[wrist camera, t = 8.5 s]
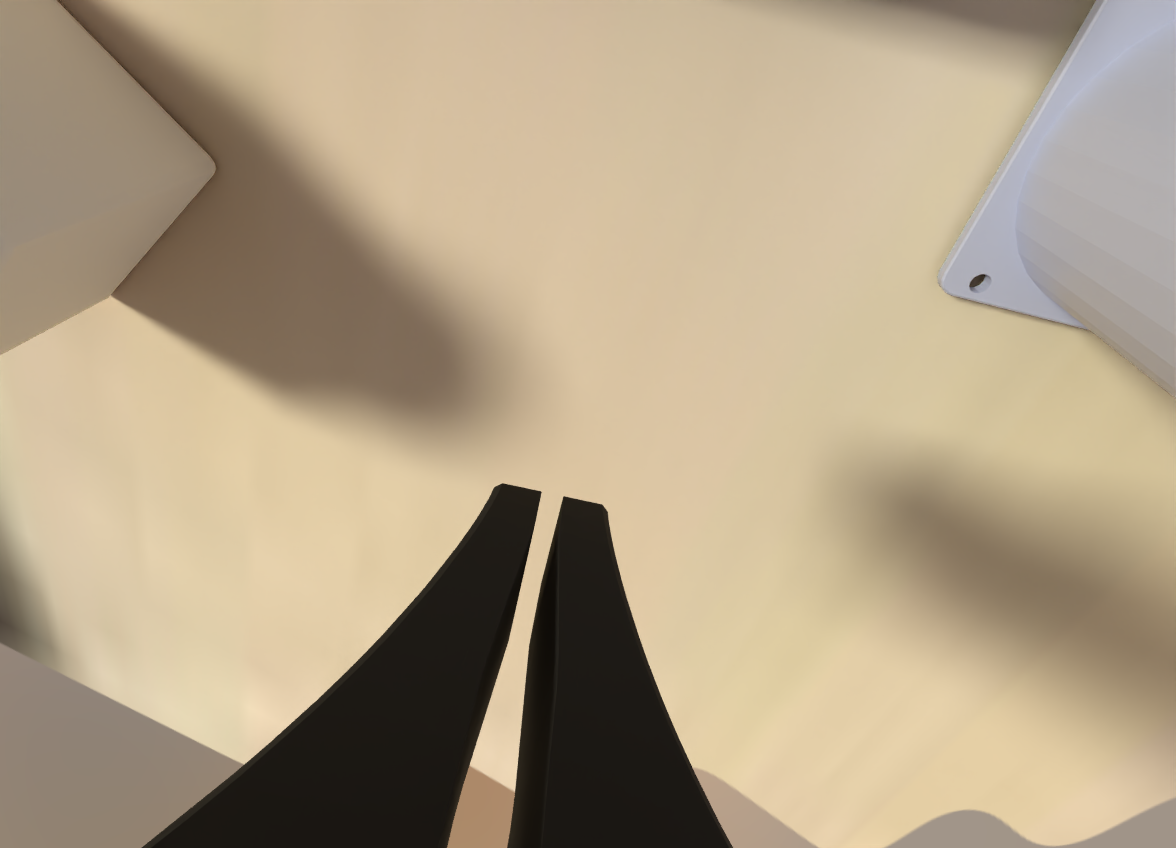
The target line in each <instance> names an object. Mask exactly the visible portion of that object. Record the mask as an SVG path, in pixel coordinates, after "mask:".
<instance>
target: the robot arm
mask: <svg viewBox="0 0 1176 848" xmlns="http://www.w3.org/2000/svg"><path fill="white" fill-rule="evenodd" d="M980 274H985V278H984V281H983V282H982V283H981V284H980V285H978V286H975V287H969V285H970V282H971V280H972V279H973V278H974V277H976V276H978V275H980ZM937 279H938V284H939V285H940V287H941V288H942V289H943V290H944V292H945V293H947V294H949V295H952V296H956V297H960V298H963V299H967V300H971V301H975V302H979V303H983V304H987V305H991V306H995V307H999V308H1003V309H1007V310H1011V311H1015V312H1019V313H1023V314H1027V315H1031V316H1035V317H1039V318H1043V319H1047V320H1051V321H1055V322H1059V323H1063V324H1067V325H1071V326H1075V327H1079V328H1083V329H1086V330H1090V331H1092V332H1093V333H1094V334H1095V335H1097V336H1098V337H1099V338H1100V339H1102V340H1103V341H1104V342H1105V343H1107V344H1108V345H1109V346H1110V347H1112V348H1113V349H1114V350H1115V351H1117V352H1118V353H1119V354H1120V355H1122V356H1123V357H1124V358H1126V359H1127V360H1128V361H1129V362H1131V363H1132V364H1133V365H1134V366H1136V367H1137V368H1138V369H1139V370H1141V371H1142V372H1143V373H1144V374H1146V375H1147V376H1148V377H1149V378H1151V379H1152V380H1153V381H1154V382H1156V383H1157V384H1158V385H1159V386H1161V387H1162V388H1163V389H1164V390H1166V391H1167V392H1168V393H1169V394H1171V395H1172V396H1173V397H1174V398H1176V0H1096V1H1095V3H1094V5H1093V6H1092V8H1091V10H1090V12H1089V13H1088V15H1087V17H1086V18H1085V20H1084V22H1083V24H1082V25H1081V27H1080V29H1079V31H1078V32H1077V34H1076V36H1075V37H1074V39H1073V41H1072V43H1071V44H1070V46H1069V48H1068V49H1067V51H1066V53H1065V55H1064V56H1063V58H1062V60H1061V62H1060V63H1059V65H1058V67H1057V68H1056V70H1055V72H1054V74H1053V75H1052V77H1051V79H1050V81H1049V82H1048V84H1047V86H1046V87H1045V89H1044V91H1043V93H1042V94H1041V96H1040V98H1039V99H1038V101H1037V103H1036V105H1035V106H1034V108H1033V110H1032V112H1031V113H1030V115H1029V117H1028V118H1027V120H1026V122H1025V124H1024V125H1023V127H1022V129H1021V131H1020V132H1019V134H1018V136H1017V137H1016V139H1015V141H1014V143H1013V144H1012V146H1011V148H1010V150H1009V151H1008V153H1007V155H1006V156H1005V158H1004V160H1003V162H1002V163H1001V165H1000V167H999V168H998V170H997V172H996V174H995V175H994V177H993V179H992V181H991V182H990V184H989V186H988V187H987V189H986V191H985V193H984V194H983V196H982V198H981V200H980V201H979V203H978V205H977V206H976V208H975V210H974V212H973V213H972V215H971V217H970V218H969V220H968V222H967V224H966V225H965V227H964V229H963V231H962V232H961V234H960V236H959V237H958V239H957V241H956V243H955V244H954V246H953V248H952V250H951V251H950V253H949V255H948V256H947V258H946V260H945V262H944V263H943V265H942V267H941V269H940V271H939V273H938V276H937ZM540 497H541V491H536V490H531V489H527V488H522V487H517V486H513V485H508V484H503V483H502V484H500V485H498V486H496V487H494V489H493V491H492V493H491V495H490V497H489V499H488V501H487V503H486V504H485V506H484V508H483V509H482V511H481V513H480V514H479V516H478V517H477V519H476V520H475V522H474V523H473V525H472V526H471V528H470V529H469V531H468V532H467V534H466V535H465V536H464V538H463V539H462V541H461V542H460V543H459V545H458V546H457V547H456V549H455V550H454V551H453V553H452V554H451V555H450V556H449V558H448V559H447V560H446V561H445V563H444V564H443V565H442V567H441V568H440V569H439V570H438V572H437V573H436V574H435V575H434V577H433V578H432V579H431V581H430V582H429V583H428V584H427V585H426V587H425V588H424V589H423V590H422V591H421V593H420V594H419V595H418V596H417V597H416V598H415V599H414V600H413V602H412V603H411V604H410V605H409V606H408V607H407V608H406V609H405V610H404V612H403V613H402V614H401V615H400V616H399V617H398V618H397V619H396V621H395V622H394V623H393V624H392V625H391V626H390V627H389V628H388V630H387V631H386V632H385V633H384V634H383V635H382V636H381V637H380V638H379V639H378V640H377V641H376V642H375V643H374V644H373V645H372V647H371V648H370V649H369V650H368V651H367V652H366V653H365V654H364V655H363V656H362V657H361V658H360V659H359V660H358V661H357V662H356V663H355V664H354V665H353V666H352V667H351V668H350V669H349V670H348V671H347V672H346V673H345V674H344V675H343V676H342V677H341V678H340V679H339V680H338V681H337V682H335V683H334V684H333V685H332V686H331V687H330V688H329V689H328V690H327V691H326V692H325V693H324V694H323V695H322V696H321V697H320V698H319V699H318V700H317V701H316V702H315V703H313V704H312V705H311V706H310V707H309V708H308V709H307V710H306V711H305V712H303V713H302V714H301V715H300V716H299V717H298V718H297V719H296V720H295V721H293V722H292V723H291V724H290V725H289V726H288V727H287V728H286V729H285V730H283V731H282V732H281V733H280V734H279V735H278V736H277V737H276V738H275V739H274V740H272V741H271V742H270V743H269V744H268V745H267V746H266V747H264V748H263V749H262V750H261V751H260V752H259V753H257V754H256V755H255V756H254V757H253V758H252V759H251V760H249V761H248V762H247V763H246V764H245V765H243V766H242V767H241V768H240V769H239V770H238V771H236V772H235V773H234V774H233V775H232V776H230V777H229V778H228V779H227V780H225V781H224V782H223V783H222V784H221V785H219V786H218V787H217V788H216V789H214V790H213V791H212V792H211V793H209V794H208V795H207V796H206V797H204V798H203V799H202V800H201V801H199V802H198V803H197V804H196V805H194V806H193V807H192V808H191V809H189V810H188V811H187V812H186V813H185V814H183V815H182V816H181V817H179V818H178V819H177V820H176V821H174V822H173V823H172V824H171V825H169V826H168V827H167V828H166V829H165V830H163V831H162V832H161V833H159V834H158V835H157V836H156V837H155V838H153V839H152V840H151V841H149V842H148V843H147V844H146V845H145V846H143V847H142V848H447V845H448V841H449V837H450V832H451V828H452V824H453V820H454V816H455V812H456V809H457V805H458V802H459V797H460V794H461V791H462V787H463V784H464V781H465V777H466V774H467V771H468V768H469V765H470V761H471V758H472V755H473V752H474V749H475V746H476V742H477V739H478V736H479V733H480V730H481V727H482V723H483V720H484V717H485V714H486V711H487V708H488V704H489V701H490V698H491V695H492V692H493V688H494V685H495V682H496V679H497V676H498V673H499V669H500V666H501V663H502V660H503V657H504V653H505V650H506V647H507V644H508V641H509V636H510V632H511V627H512V623H513V619H514V614H515V610H516V605H517V601H518V597H519V592H520V588H521V583H522V579H523V574H524V570H525V566H526V561H527V557H528V552H529V548H530V544H531V539H532V535H533V530H534V526H535V521H536V516H537V512H538V507H539V502H540ZM507 848H733V847H732V845H731V843H730V841H729V840H728V838H727V836H726V834H725V832H724V830H723V829H722V827H721V825H720V823H719V821H718V819H717V817H716V815H715V813H714V811H713V809H712V807H711V805H710V803H709V801H708V799H707V797H706V795H705V793H704V791H703V789H702V787H701V785H700V783H699V781H698V779H697V777H696V775H695V773H694V770H693V768H692V766H691V764H690V762H689V759H688V757H687V755H686V753H685V751H684V748H683V746H682V744H681V742H680V740H679V738H678V735H677V733H676V731H675V728H674V726H673V724H672V721H671V719H670V717H669V714H668V712H667V710H666V707H665V705H664V702H663V700H662V697H661V695H660V692H659V690H658V687H657V685H656V682H655V679H654V677H653V674H652V672H651V669H650V666H649V664H648V661H647V658H646V655H645V653H644V650H643V647H642V644H641V641H640V638H639V635H638V632H637V629H636V626H635V623H634V620H633V617H632V613H631V610H630V607H629V604H628V601H627V598H626V594H625V591H624V587H623V584H622V580H621V576H620V572H619V568H618V564H617V560H616V556H615V552H614V547H613V543H612V538H611V532H610V527H609V520H608V512H607V510H606V509H605V508H604V506H603V505H602V504H597V503H592V502H587V501H583V500H578V499H573V498H569V497H563V500H562V504H561V508H560V512H559V516H558V520H557V524H556V528H555V532H554V536H553V540H552V544H551V547H550V551H549V555H548V559H547V563H546V567H545V571H544V575H543V579H542V583H541V588H540V593H539V598H538V603H537V608H536V613H535V618H534V623H533V629H532V634H531V639H530V644H529V654H528V664H527V674H526V684H525V695H524V705H523V716H522V726H521V737H520V747H519V758H518V768H517V779H516V789H515V798H514V807H513V814H512V821H511V829H510V835H509V841H508V847H507Z"/></svg>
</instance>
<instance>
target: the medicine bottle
mask: <svg viewBox="0 0 1176 848" xmlns="http://www.w3.org/2000/svg"><path fill="white" fill-rule="evenodd" d="M215 171H216V166H215V163H214V161H213V160H212V158H211V157H210V156H209V155H208V154H207V153H206V152H205V151H204V150H203V149H202V148H201V147H200V146H199V145H198V144H197V143H196V142H195V141H194V139H193V138H192V137H191V136H190V135H189V134H188V133H187V132H186V131H185V130H184V129H183V128H182V127H181V126H180V125H179V124H178V123H177V122H176V121H175V120H174V119H173V118H172V117H171V116H170V115H169V114H168V113H167V112H166V111H165V110H164V109H163V108H162V107H161V106H160V105H159V104H158V103H157V102H156V101H155V100H154V99H153V98H152V97H151V96H150V95H149V94H148V93H147V92H146V91H145V90H144V89H143V88H142V87H141V86H140V85H139V84H138V83H137V81H136V80H135V79H134V78H133V77H132V76H131V75H130V74H129V73H128V72H127V71H126V70H125V69H124V68H123V67H122V66H121V65H120V64H119V63H118V62H117V61H116V60H115V59H114V58H113V57H112V56H111V55H110V54H109V53H108V52H107V51H106V50H105V49H104V48H103V47H102V46H101V45H100V44H99V43H98V42H97V41H96V40H95V39H94V38H93V37H92V36H91V35H90V34H89V33H88V32H87V31H86V30H85V29H84V28H83V27H82V26H81V25H80V23H79V22H78V21H77V20H76V19H75V18H74V17H73V16H72V15H71V14H70V13H69V12H68V11H67V10H66V9H65V8H64V7H63V6H62V5H61V4H60V3H59V2H58V1H57V0H0V355H1V354H3V353H5V352H7V351H9V350H11V349H13V348H15V347H16V346H18V345H20V344H22V343H24V342H26V341H28V340H30V339H31V338H33V337H35V336H37V335H39V334H41V333H43V332H45V331H46V330H48V329H50V328H52V327H54V326H56V325H58V324H60V323H62V322H63V321H65V320H67V319H69V318H71V317H73V316H75V315H77V314H78V313H80V312H82V311H84V310H86V309H88V308H90V307H92V306H93V305H95V304H97V303H99V302H101V301H103V300H105V299H107V298H108V297H109V296H110V295H111V294H112V293H113V291H114V290H115V289H116V288H117V287H118V286H119V284H120V283H121V282H122V281H123V280H124V279H125V277H126V276H127V275H128V274H129V273H130V272H131V270H132V269H133V268H134V267H135V266H136V265H137V263H138V262H139V261H140V260H141V259H142V258H143V257H144V255H145V254H146V253H147V252H148V251H149V250H150V248H151V247H152V246H153V245H154V244H155V243H156V241H157V240H158V239H159V238H160V237H161V236H162V234H163V233H164V232H165V231H166V230H167V229H168V227H169V226H170V225H171V224H172V223H173V222H174V220H175V219H176V218H177V217H178V216H179V215H180V213H181V212H182V211H183V210H184V209H185V208H186V206H187V205H188V204H189V203H190V202H191V201H192V199H193V198H194V197H195V196H196V195H197V194H198V192H199V191H200V190H201V189H202V188H203V187H204V186H205V184H206V183H207V182H208V181H209V180H210V179H211V177H212V176H213V175H214V173H215Z"/></svg>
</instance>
